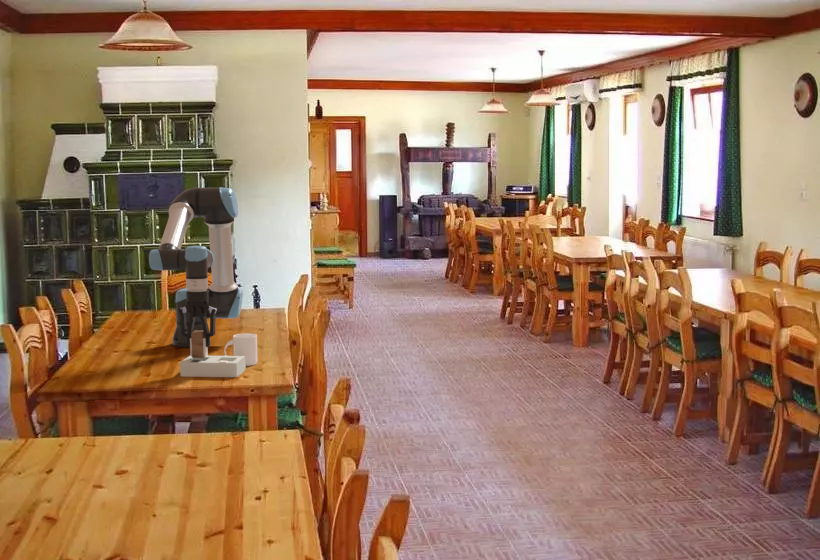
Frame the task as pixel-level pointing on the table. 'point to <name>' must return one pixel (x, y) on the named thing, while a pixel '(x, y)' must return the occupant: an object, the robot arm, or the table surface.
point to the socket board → (213, 366)
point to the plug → (197, 343)
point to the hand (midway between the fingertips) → (199, 355)
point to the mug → (245, 347)
